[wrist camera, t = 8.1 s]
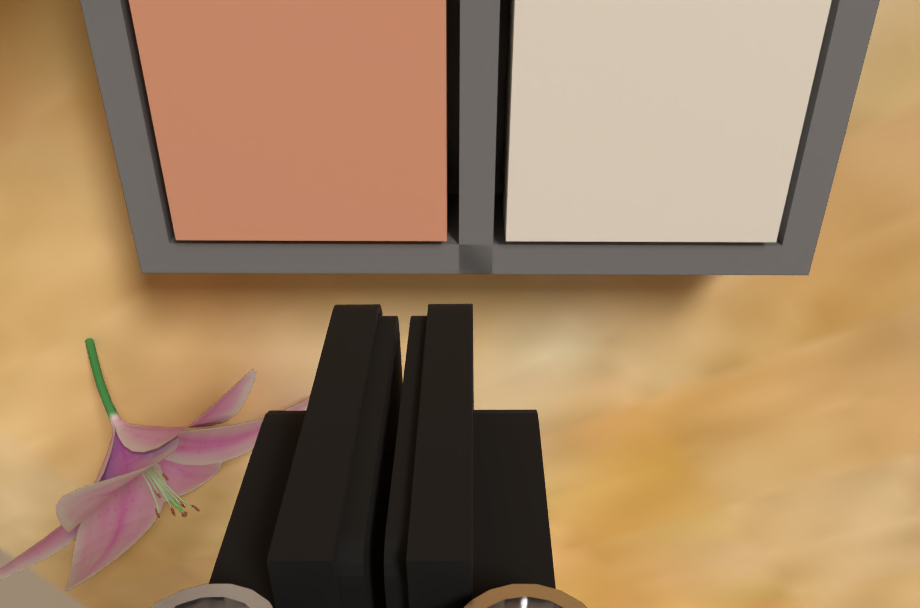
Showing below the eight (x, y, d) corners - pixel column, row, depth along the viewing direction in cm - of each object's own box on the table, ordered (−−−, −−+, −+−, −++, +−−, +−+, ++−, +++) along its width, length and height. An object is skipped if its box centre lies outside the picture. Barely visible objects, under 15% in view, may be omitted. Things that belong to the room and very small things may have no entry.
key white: (751, 204, 27) (776, 242, 25) (502, 203, 27) (505, 241, 25) (811, -88, 22) (848, -73, 20) (512, -90, 22) (517, -75, 20)
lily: (78, 485, 38) (119, 691, 32) (-143, 357, 28) (-141, 614, 23) (313, 349, 38) (395, 526, 33) (172, 178, 29) (252, 385, 23)
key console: (763, 209, 29) (808, 275, 26) (182, 206, 29) (141, 272, 26) (841, -152, 24) (914, -136, 20) (114, -156, 23) (48, -140, 20)
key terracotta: (447, 203, 27) (446, 241, 25) (198, 202, 27) (175, 240, 25) (446, -90, 22) (445, -75, 20) (146, -92, 22) (114, -76, 20)
